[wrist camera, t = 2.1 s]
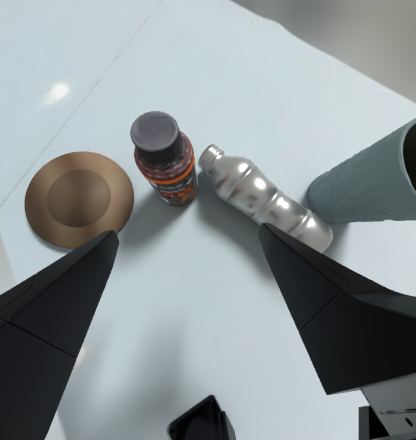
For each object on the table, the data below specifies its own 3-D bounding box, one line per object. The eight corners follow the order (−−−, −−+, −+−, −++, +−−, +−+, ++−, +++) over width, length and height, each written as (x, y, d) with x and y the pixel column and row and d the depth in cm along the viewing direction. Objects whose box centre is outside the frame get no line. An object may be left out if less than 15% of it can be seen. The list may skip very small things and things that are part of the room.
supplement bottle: (170, 214, 22) (132, 174, 11) (154, 182, 24) (105, 118, 13) (206, 196, 23) (202, 141, 12) (188, 165, 24) (169, 90, 13)
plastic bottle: (351, 225, 18) (226, 123, 19) (326, 270, 17) (190, 155, 18) (310, 232, 25) (217, 155, 26) (288, 265, 23) (190, 181, 24)
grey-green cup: (328, 160, 27) (435, 94, 15) (371, 201, 26) (516, 168, 14) (292, 197, 25) (378, 157, 13) (336, 242, 24) (467, 242, 13)
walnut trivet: (54, 266, 21) (47, 267, 20) (17, 179, 22) (8, 176, 21) (149, 219, 23) (147, 218, 22) (110, 141, 24) (106, 137, 23)
